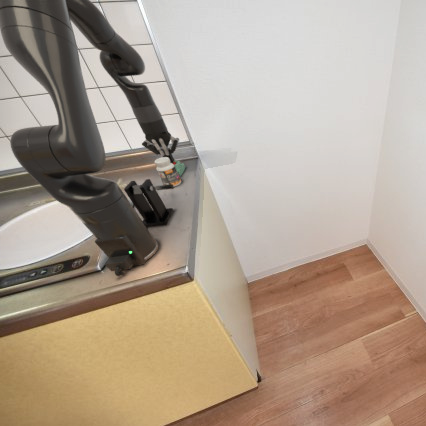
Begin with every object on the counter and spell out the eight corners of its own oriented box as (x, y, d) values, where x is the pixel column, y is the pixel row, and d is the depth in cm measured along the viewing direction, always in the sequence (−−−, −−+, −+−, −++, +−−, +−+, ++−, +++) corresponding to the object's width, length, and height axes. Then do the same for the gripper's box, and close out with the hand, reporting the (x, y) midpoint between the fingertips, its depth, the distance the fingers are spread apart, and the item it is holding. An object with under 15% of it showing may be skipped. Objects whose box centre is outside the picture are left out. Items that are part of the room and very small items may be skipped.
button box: (180, 176, 94) (176, 167, 91) (164, 177, 93) (159, 168, 91) (185, 167, 99) (182, 159, 97) (170, 169, 99) (166, 160, 96)
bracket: (151, 213, 76) (129, 178, 68) (174, 210, 77) (155, 176, 68) (141, 228, 71) (117, 192, 62) (166, 225, 71) (145, 189, 63)
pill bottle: (175, 188, 87) (163, 164, 80) (161, 187, 88) (148, 163, 82) (185, 180, 91) (174, 156, 85) (172, 179, 92) (160, 155, 86)
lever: (158, 191, 80) (157, 184, 80) (174, 189, 80) (172, 182, 80) (128, 195, 65) (126, 186, 65) (147, 193, 66) (145, 184, 65)
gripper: (124, 123, 79) (149, 169, 90) (165, 120, 80) (185, 166, 91) (134, 116, 85) (157, 160, 96) (172, 113, 86) (191, 157, 97)
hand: (171, 163), depth 94 cm, fingers closed
